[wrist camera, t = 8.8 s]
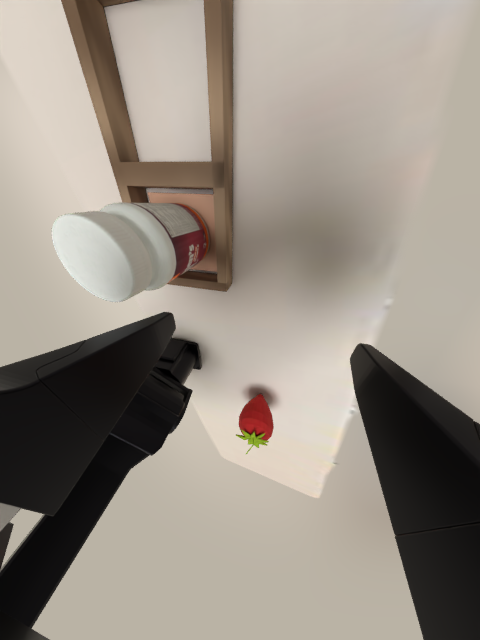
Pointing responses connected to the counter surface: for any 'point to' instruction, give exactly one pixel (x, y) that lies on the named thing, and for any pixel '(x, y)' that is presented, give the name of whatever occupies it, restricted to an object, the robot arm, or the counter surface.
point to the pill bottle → (130, 246)
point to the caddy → (133, 176)
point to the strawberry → (256, 422)
